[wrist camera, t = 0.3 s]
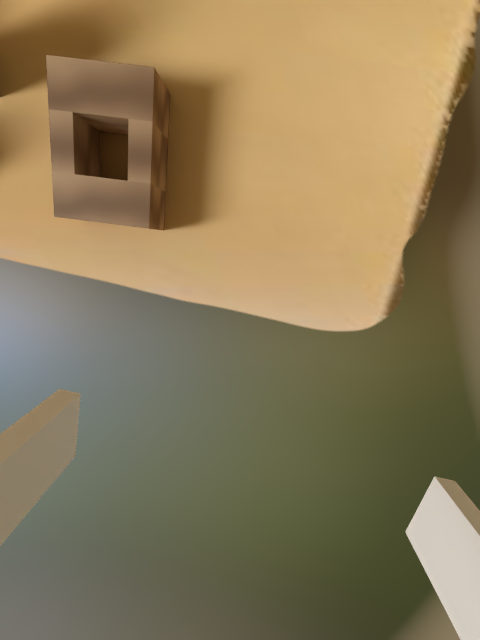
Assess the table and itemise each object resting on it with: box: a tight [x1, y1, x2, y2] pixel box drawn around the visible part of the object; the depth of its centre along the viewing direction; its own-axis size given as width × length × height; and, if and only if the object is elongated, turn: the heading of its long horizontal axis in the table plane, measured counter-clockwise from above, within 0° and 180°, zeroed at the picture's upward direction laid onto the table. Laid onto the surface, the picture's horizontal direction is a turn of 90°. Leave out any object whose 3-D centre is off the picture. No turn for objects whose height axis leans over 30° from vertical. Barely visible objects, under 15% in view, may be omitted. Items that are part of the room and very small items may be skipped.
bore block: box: [46, 55, 170, 230], centre depth 30 cm, size 14×10×5 cm
